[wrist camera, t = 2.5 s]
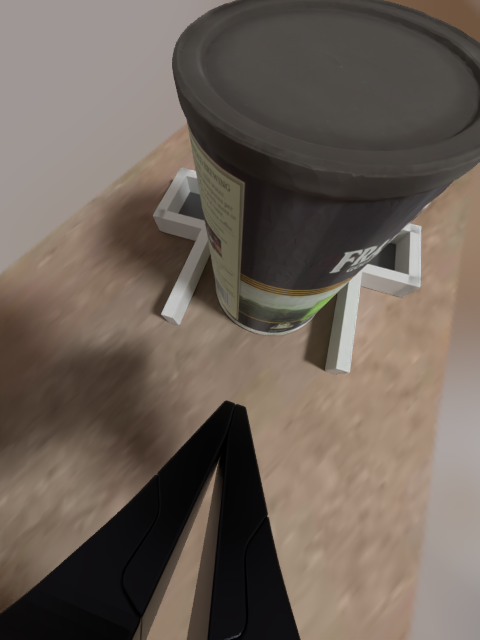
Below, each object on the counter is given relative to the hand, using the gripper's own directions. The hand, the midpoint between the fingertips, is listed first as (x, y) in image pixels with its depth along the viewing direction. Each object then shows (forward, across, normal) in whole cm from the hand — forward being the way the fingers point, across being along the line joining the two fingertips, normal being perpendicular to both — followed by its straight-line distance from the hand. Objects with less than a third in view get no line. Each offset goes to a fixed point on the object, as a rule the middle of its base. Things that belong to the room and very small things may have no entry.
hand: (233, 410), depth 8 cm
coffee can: (+14, 0, -2) cm, 14 cm away
